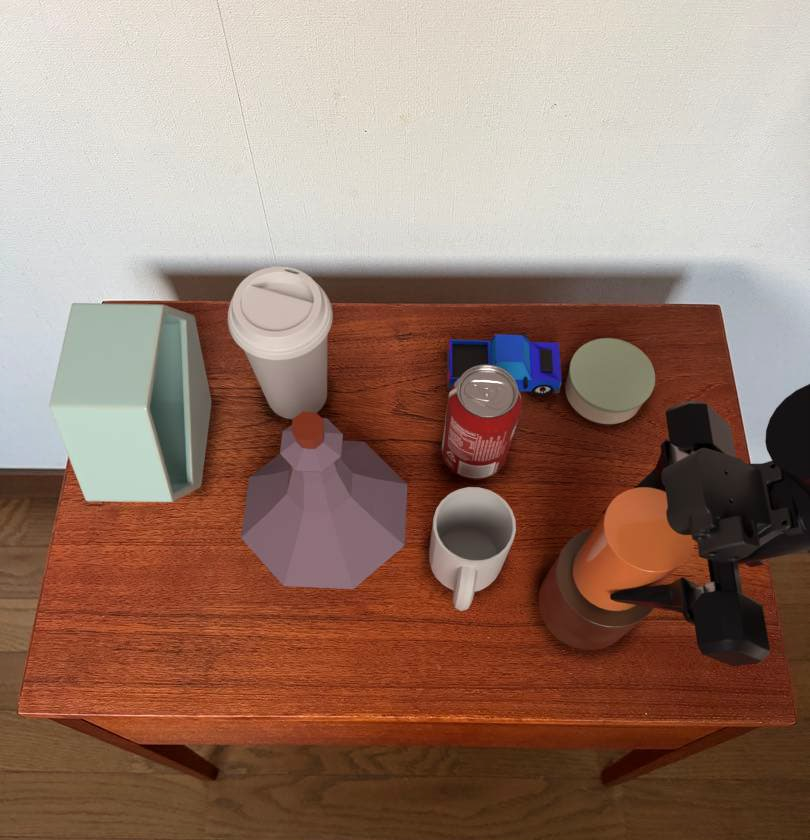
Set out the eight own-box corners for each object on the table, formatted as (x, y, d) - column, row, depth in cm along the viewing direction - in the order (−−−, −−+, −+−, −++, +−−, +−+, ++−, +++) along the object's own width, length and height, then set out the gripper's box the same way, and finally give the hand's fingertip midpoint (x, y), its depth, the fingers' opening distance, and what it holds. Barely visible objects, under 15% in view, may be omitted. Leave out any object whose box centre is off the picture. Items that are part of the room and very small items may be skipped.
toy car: (557, 404, 79) (567, 377, 74) (446, 400, 78) (449, 374, 74) (554, 352, 81) (563, 324, 77) (446, 349, 81) (449, 320, 76)
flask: (379, 435, 77) (376, 311, 58) (435, 575, 71) (451, 486, 52) (227, 482, 74) (173, 368, 56) (272, 631, 68) (228, 558, 50)
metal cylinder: (637, 573, 71) (668, 541, 63) (624, 661, 68) (654, 639, 60) (547, 550, 72) (566, 516, 64) (529, 636, 69) (547, 611, 61)
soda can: (498, 489, 74) (516, 431, 63) (434, 474, 75) (441, 412, 64) (511, 434, 77) (532, 368, 66) (449, 419, 78) (459, 351, 66)
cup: (504, 530, 73) (519, 492, 65) (495, 627, 69) (509, 600, 61) (433, 520, 73) (438, 481, 65) (419, 616, 69) (423, 588, 61)
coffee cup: (359, 390, 79) (353, 297, 65) (298, 449, 76) (278, 364, 62) (295, 342, 81) (276, 242, 67) (233, 397, 78) (200, 305, 64)
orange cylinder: (656, 548, 62) (701, 499, 53) (644, 620, 60) (690, 582, 51) (580, 528, 63) (612, 477, 54) (565, 599, 61) (596, 558, 51)
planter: (214, 480, 79) (153, 513, 59) (143, 479, 79) (57, 512, 59) (208, 319, 76) (142, 296, 56) (134, 318, 76) (40, 294, 56)
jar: (650, 366, 81) (660, 348, 78) (639, 434, 77) (649, 419, 74) (570, 347, 81) (577, 329, 78) (556, 414, 78) (562, 398, 75)
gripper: (752, 327, 46) (543, 414, 56) (810, 615, 39) (559, 655, 49) (810, 398, 53) (617, 464, 63) (868, 651, 46) (639, 680, 56)
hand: (608, 555), depth 58 cm, fingers closed on orange cylinder, 6 cm apart
